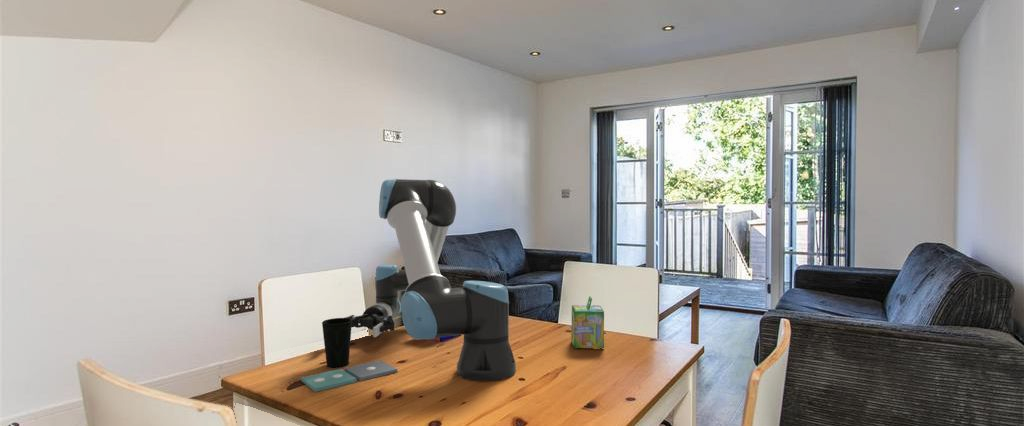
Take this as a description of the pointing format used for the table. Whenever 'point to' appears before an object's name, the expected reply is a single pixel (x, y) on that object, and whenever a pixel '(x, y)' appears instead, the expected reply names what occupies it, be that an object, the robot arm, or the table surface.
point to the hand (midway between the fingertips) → (351, 332)
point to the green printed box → (587, 326)
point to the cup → (337, 341)
